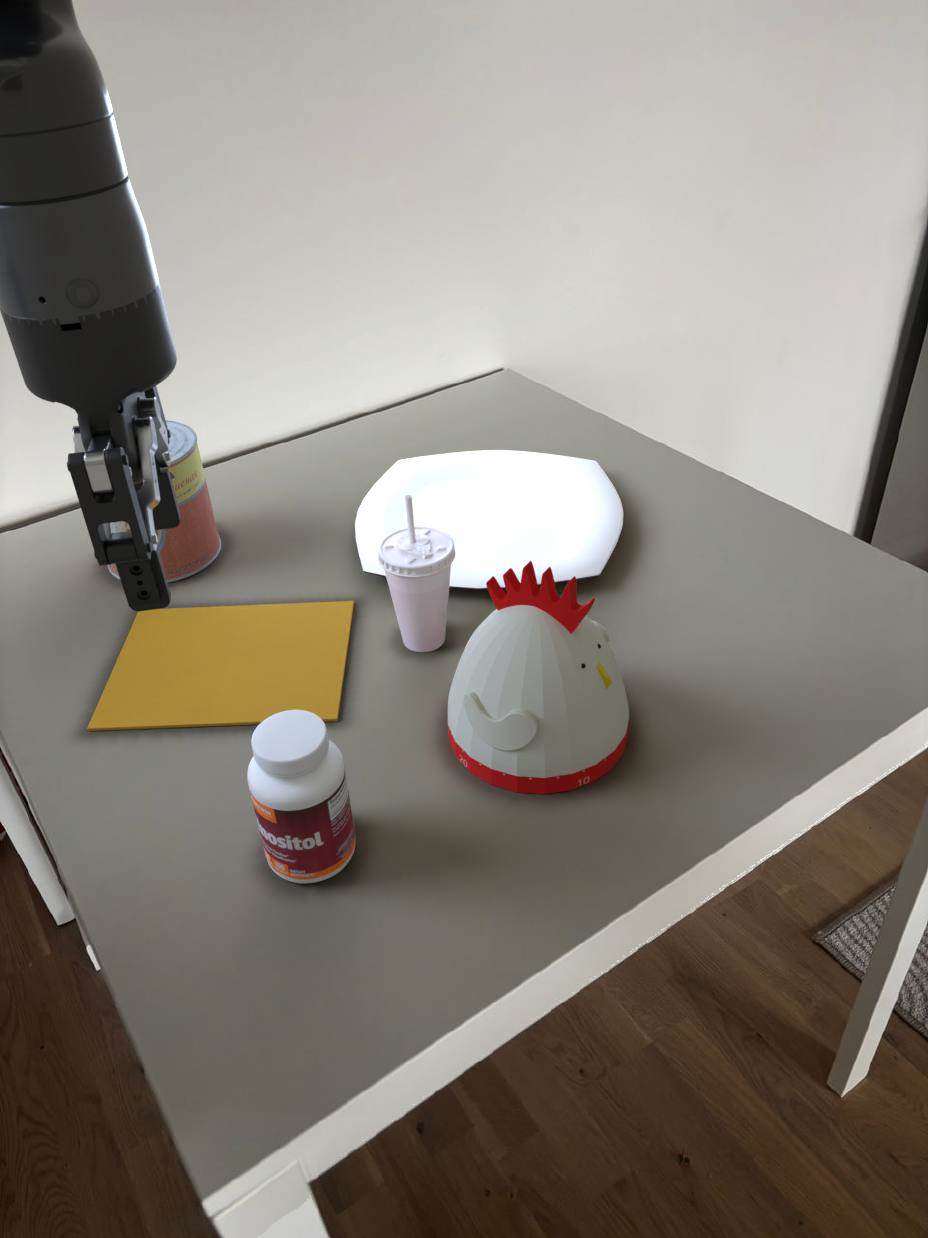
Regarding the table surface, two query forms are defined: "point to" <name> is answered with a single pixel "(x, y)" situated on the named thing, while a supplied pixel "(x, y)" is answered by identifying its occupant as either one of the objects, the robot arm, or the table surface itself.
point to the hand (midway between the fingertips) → (158, 564)
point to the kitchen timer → (537, 691)
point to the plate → (499, 513)
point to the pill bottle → (300, 797)
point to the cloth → (227, 666)
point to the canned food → (185, 511)
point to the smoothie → (418, 581)
